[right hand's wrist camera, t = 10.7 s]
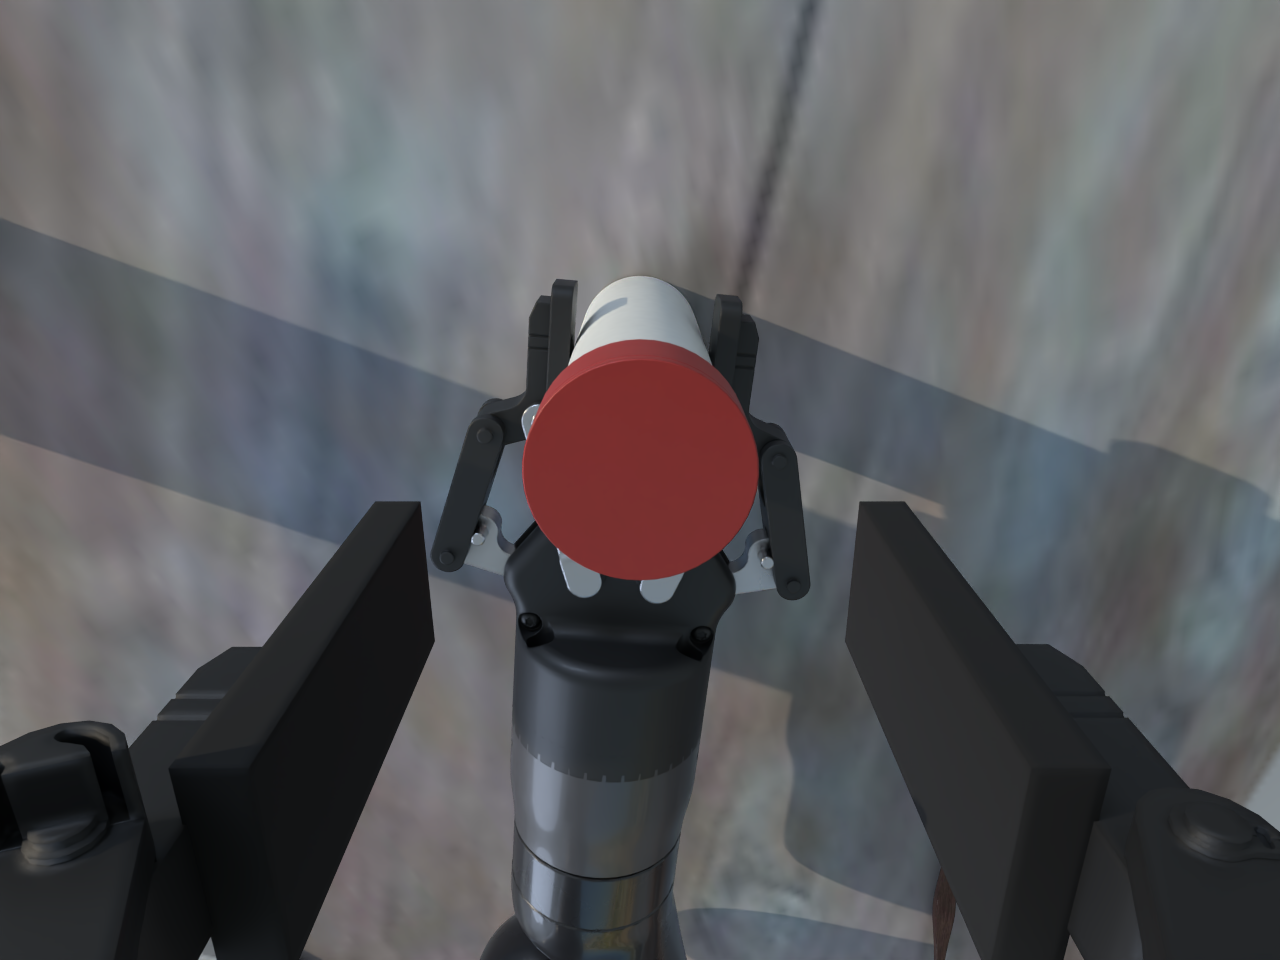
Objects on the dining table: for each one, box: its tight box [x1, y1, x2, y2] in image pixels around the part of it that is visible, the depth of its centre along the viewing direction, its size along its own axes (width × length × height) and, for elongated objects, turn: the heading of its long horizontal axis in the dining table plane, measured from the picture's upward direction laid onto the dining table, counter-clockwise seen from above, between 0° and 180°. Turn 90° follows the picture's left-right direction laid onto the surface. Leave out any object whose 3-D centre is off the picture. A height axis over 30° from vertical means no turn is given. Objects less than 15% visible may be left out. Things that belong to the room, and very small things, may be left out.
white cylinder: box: [568, 276, 712, 366], centre depth 27 cm, size 5×5×16 cm
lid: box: [522, 339, 759, 580], centre depth 20 cm, size 5×5×2 cm
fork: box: [933, 867, 956, 960], centre depth 43 cm, size 3×16×2 cm, turn 3°
